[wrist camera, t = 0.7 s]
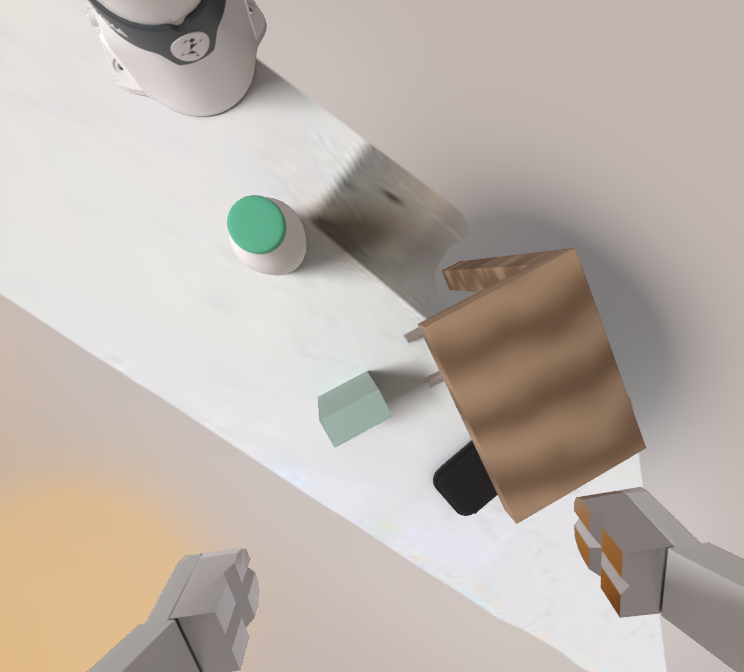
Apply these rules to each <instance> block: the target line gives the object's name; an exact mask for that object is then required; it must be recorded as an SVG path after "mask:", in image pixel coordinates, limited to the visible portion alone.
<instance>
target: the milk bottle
mask: <svg viewBox="0 0 744 672" xmlns="http://www.w3.org/2000/svg"><path fill="white" fill-rule="evenodd" d="M227 226H228V231H229V240H230V244H231V247H232V249H233V251H234V253H235V254H236V256H237V257H238V258H239V260H240V261H241V262H242V263H243V264H245V265H246V266H247V267H249V268H251V269H253V270H255V271H257V272H260V273H264V274H269V275H284V274H287V273H290V272H292V271H294V270H295V269H296V268H297V267H298V266H299V265H300V264H301V263H302V261H303V259H304V257H305V254H306V249H307V243H306V234H305V230H304V227H303V224H302V222H301V220H300V218H299V216H298V215H297V214H296V212H295V211H294V210H293V209H292V208H291V207H289V206H288V205H287V204H285V203H283V202H282V201H279V200H277V199H273V198H268V197H262V196H256V195H253V196H247V197H244V198H242V199H240V200H238V201H237V202H236V203H235V204H234V205H233V206H232V208H231V210H230V212H229V215H228V220H227Z"/></svg>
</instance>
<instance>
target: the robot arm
mask: <svg viewBox="0 0 744 672" xmlns="http://www.w3.org/2000/svg"><path fill="white" fill-rule="evenodd" d="M87 3H88V6H89V8H88V9H86V10H85V11H86V14H87V16H88V18H89V20H90V22H91V23H92V25H93V26H94V27H96V28H97V31H98V34H99V36H100V39H101V42H102V45H103V47H104V50H105V53H106V56H107V59H108V61H109V64H110V67H111V70H112V72H113V75H114V78H115V80H116V81H117V83H118V84H119V86H120V87H121V88H122V89H124V90H125V91H128V92H130V93H134V94H139V95H145V96H149V97H151V98H153V99H155V100H156V101H158V102H160V103H161V104H163V105H164V106H166V107H168V108H170V109H172V110H174V111H177V112H179V113H183V114H186V115H192V116H209V115H215V114H218V113H221V112H223V111H226V110H228V109H229V108H231V107H232V106H234V105H235V104H236V103H237V102H239V101H240V99H241V98H242V97H243V96H244V95H245V93H246V92H247V90H248V88H249V86H250V84H251V82H252V79H253V76H254V72H255V64H256V53H257V48H258V46H259V44H260V42H261V40H262V38H263V36H264V34H265V32H266V27H267V26H266V21H265V18H264V15H263V14H262V12H261V11H260V9H259V8H258V6H257V5H256V4H255V2H254V1H253V0H87ZM250 11H251V12H252V14H250ZM121 67H122V68H123V69H124V70H121ZM574 511H575V512H576V514H577V515H578V517H579V520H578V521H577V522H576V524H575V525H574V531H575V539H576V543H577V546H578V549H579V552H580V554H581V556H582V558H583V560H584V561H585V563H586V565H587V566H588V568H589V569H590V570H592V571H593V572H595V573H596V574H598V575H599V576H601V589H602V590H603V592H604V593H605V595H606V597H607V598H608V600H609V601H610V603H611V604H612V606H613V608H614V609H615V611H616V612H617V614H618V615H619V617H620V618H621V617H630V616H640V615H649V614H658V613H662V614H661V615H662V616H663V617H664V618H665V619H667V620H668V621H669V622H671V623H672V624H673V625H675V626H676V627H677V628H679V629H680V630H681V631H683V632H684V633H685V634H687V635H688V636H689V637H691V638H692V639H693V640H695V641H696V642H697V643H699V644H700V645H701V646H703V647H704V648H705V649H706V650H708V651H709V652H710V653H712V654H713V655H715V656H716V657H717V658H718V659H720V660H721V661H723V662H724V663H725V664H726V665H728V666H729V667H730V668H732V669H733V670H734V671H736V672H744V559H743V558H741V557H739V556H736V555H734V554H732V553H730V552H728V551H726V550H724V549H722V548H719V547H717V546H715V545H713V544H711V543H701V542H699V541H698V540H697V539H696V538H695V537H694V536H693V535H692V534H691V533H690V532H689V531H688V530H687V529H686V528H685V527H684V526H683V525H682V524H681V523H680V522H679V521H678V520H677V519H676V518H675V517H674V516H673V515H672V514H671V513H670V512H669V511H668V510H667V509H666V508H664V507H663V506H662V505H661V504H660V503H659V502H658V501H657V500H656V499H655V498H654V497H653V496H652V495H651V494H650V493H649V492H648V491H647V490H646V489H644V488H642V487H638V488H632V489H625V490H619V491H613V492H607V493H601V494H595V495H588V496H582V497H576V499H575V502H574ZM249 562H250V557H249V555H248V552H247V550H246V549H242V548H241V549H233V550H225V551H216V552H208V553H204V554H195V555H188V556H184V557H183V558H182V559H181V560H180V561H179V562H178V564H177V565H176V567H175V569H174V571H173V573H172V574H171V577H170V578H169V580H168V582H167V584H166V586H165V587H164V589H163V591H162V593H161V595H160V597H159V599H158V600H157V602H156V604H155V606H154V608H153V610H152V611H151V614H150V615H149V617H148V619H147V621H146V623H145V624H140V625H138V626H137V627H136V628H134V629H133V630H132V631H131V632H130V633H129V634H128V635H127V636H126V637H125V638H124V639H122V640H121V641H120V642H119V643H118V644H117V645H116V646H115V647H114V648H113V649H111V650H110V651H109V652H108V653H107V654H106V655H105V656H104V657H103V658H102V659H101V660H99V661H98V662H97V663H96V664H95V665H94V666H93V667H92V668H91V669H90V670H89V671H87V672H231V671H237V670H240V669H241V666H242V662H243V659H244V655H245V651H246V648H247V644H248V640H249V635H248V632H247V630H246V627H247V626H248V625H249V623H250V622H251V621H252V620H253V619H254V617H255V615H256V610H257V607H258V599H259V585H258V579H257V576H256V573H255V572H254V571H252V570H251V569H250V568H248V565H249Z"/></svg>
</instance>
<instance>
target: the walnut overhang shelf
mask: <svg viewBox="0 0 744 672" xmlns="http://www.w3.org/2000/svg"><path fill="white" fill-rule="evenodd" d="M442 273H443V275H444V278H445V280H446V282H447V284H448V287H449V289H450V290H459V291H473V292H478V293H476V294H474V295H473V296H471V297H469V298H467V299H465V300H463V301H461V302H459V303H457V304H455V305H453V306H451V307H450V308H448V309H446V310H444V311H442V312H440V313H438V314H436V315H434V316H432V317H431V318H429V319H427V320H425V321H423V322H421V323H419V324H418V326H419V327H418V328H417V329H415V330H413V331H411V332H409V333H407V334H405V335H404V338H405V340H406V341H407V342H408V343H410V342H412V341H414V340H416V339H418V338H420V337H422V336H424V339H425V341H426V343H427V345H428V347H429V349H430V351H431V353H432V356H433V358H434V360H435V362H436V364H437V366H438V368H439V371H438V372H436V373H435V374H433V375H431V376H429V377H427V378H425V381H426V383H427V385H428V386H429V387H432V386H434V385H436V384H438V383H440V382H441V381H443V380H444V381H445V383H446V385H447V388H448V390H449V392H450V394H451V396H452V398H453V400H454V402H455V405H456V407H457V409H458V411H459V413H460V415H461V417H462V420H463V422H464V424H465V426H466V428H467V430H468V432H469V434H470V437H471V439H472V441H473V443H474V445H475V447H476V449H477V451H478V454H479V456H480V458H481V460H482V462H483V464H484V466H485V469H486V471H487V473H488V475H489V477H490V479H491V481H492V483H493V486H494V488H495V490H496V492H497V494H498V496H499V498H500V500H501V503H502V505H503V507H504V509H505V511H506V512H507V513H508V514H509V516H510V517H511V518H512V519H513V520H514V521H515V523H516V524H517V523H519V522H521V521H523V520H524V519H526V518H528V517H529V516H531V515H533V514H534V513H536V512H538V511H540V510H541V509H543V508H545V507H546V506H548V505H550V504H552V503H553V502H555V501H557V500H558V499H560V498H562V497H563V496H565V495H567V494H569V493H570V492H572V491H574V490H575V489H577V488H579V487H580V486H582V485H584V484H586V483H587V482H589V481H591V480H592V479H594V478H596V477H598V476H599V475H601V474H603V473H604V472H606V471H608V470H609V469H611V468H613V467H615V466H616V465H618V464H620V463H621V462H623V461H625V460H627V459H628V458H630V457H632V456H633V455H635V454H637V453H638V452H640V451H642V450H644V449H645V448H646V446H645V444H644V441H643V438H642V435H641V432H640V429H639V427H638V424H637V421H636V418H635V415H634V412H633V410H632V407H631V404H630V401H629V398H628V396H627V393H626V390H625V387H624V384H623V381H622V379H621V376H620V373H619V370H618V367H617V364H616V362H615V359H614V356H613V353H612V350H611V348H610V345H609V342H608V339H607V336H606V334H605V331H604V328H603V325H602V322H601V319H600V316H599V314H598V311H597V308H596V306H595V302H594V300H593V297H592V294H591V291H590V288H589V285H588V283H587V280H586V277H585V274H584V271H583V269H582V266H581V263H580V260H579V257H578V254H577V252H576V249H575V248H571V249H563V250H555V251H546V252H537V253H529V254H520V255H512V256H504V257H495V258H487V259H479V260H469V261H461V262H458V263H456V264H454V265H452V266H450V267H448V268H446V269H444V270H443V271H442Z"/></svg>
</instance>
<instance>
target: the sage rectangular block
mask: <svg viewBox="0 0 744 672" xmlns="http://www.w3.org/2000/svg"><path fill="white" fill-rule="evenodd" d="M318 408H319V421H320V422H321V424H322V426H323V428H324V429H325V431H326V433H327V435H328V437H329V438H330V440H331V442H332V444H333V445H334V447H337V446H339V445H341V444H343V443H344V442H346V441H348V440H350V439H352V438H354V437H355V436H357V435H359V434H361V433H363V432H365V431H366V430H368V429H370V428H372V427H374V426H376V425H377V424H379V423H381V422H383V421H385V420H387V419H388V418H390V417H392V414H391V412H390V410H389V408H388V406H387V404H386V402H385V400H384V398H383V397H382V395H381V393H380V391H379V389H378V387H377V386H376V384H375V382H374V381H373V379H372V378H371V376H370V374H369V373H368V371H366V372H365V373H363V374H361V375H359V376H357V377H355V378H353V379H351V380H349V381H348V382H346V383H344V384H342V385H340V386H338V387H336V388H334V389H332V390H331V391H329V392H327V393H325V394H323V395H321V396H319V397H318Z"/></svg>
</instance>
